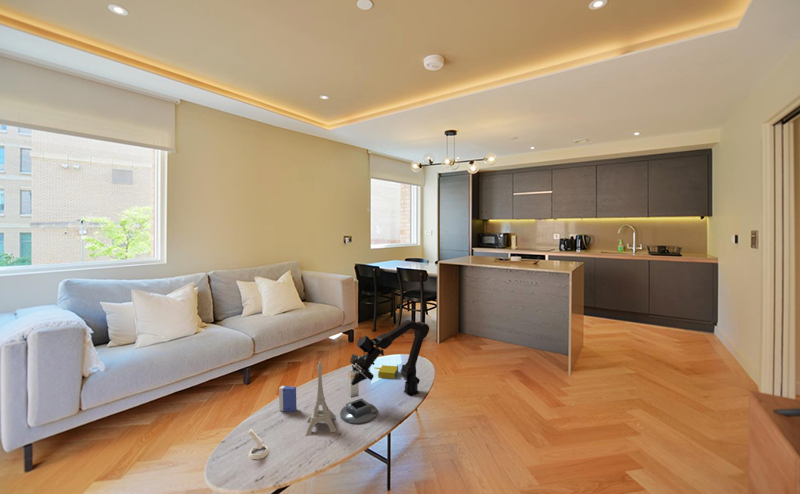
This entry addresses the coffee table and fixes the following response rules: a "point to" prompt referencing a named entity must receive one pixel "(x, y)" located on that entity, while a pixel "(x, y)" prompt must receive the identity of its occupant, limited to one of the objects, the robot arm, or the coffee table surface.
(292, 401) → the walkman
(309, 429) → the eiffel tower
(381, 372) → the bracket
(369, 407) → the square socket base
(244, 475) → the coffee table surface
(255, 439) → the hook
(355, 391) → the square box
